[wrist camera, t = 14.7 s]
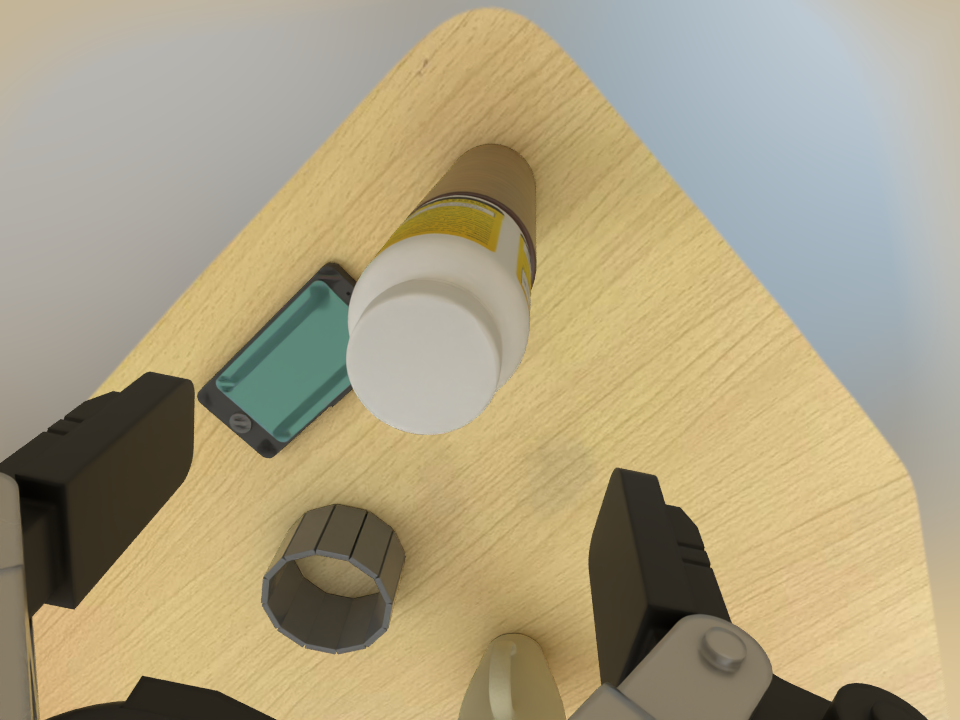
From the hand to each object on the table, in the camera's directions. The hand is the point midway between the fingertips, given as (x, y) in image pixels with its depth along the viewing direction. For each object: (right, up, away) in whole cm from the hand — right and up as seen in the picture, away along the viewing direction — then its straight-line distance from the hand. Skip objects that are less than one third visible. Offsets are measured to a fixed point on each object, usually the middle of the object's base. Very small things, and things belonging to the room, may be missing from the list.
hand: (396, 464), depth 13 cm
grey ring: (-9, -14, +42) cm, 45 cm away
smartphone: (-11, +2, +36) cm, 38 cm away
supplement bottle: (+1, +6, +13) cm, 15 cm away
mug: (+4, -22, +45) cm, 50 cm away
